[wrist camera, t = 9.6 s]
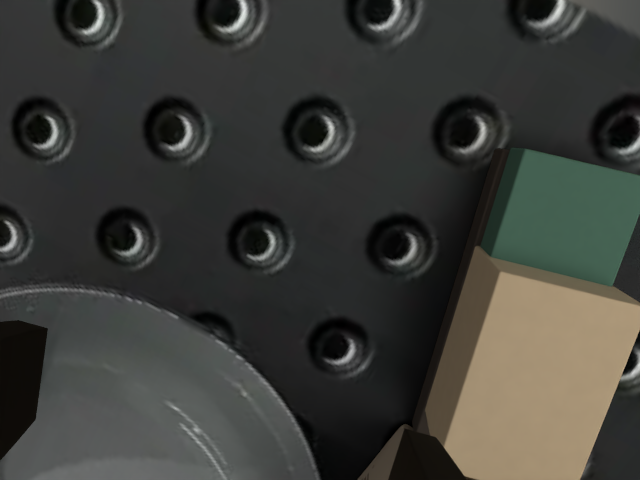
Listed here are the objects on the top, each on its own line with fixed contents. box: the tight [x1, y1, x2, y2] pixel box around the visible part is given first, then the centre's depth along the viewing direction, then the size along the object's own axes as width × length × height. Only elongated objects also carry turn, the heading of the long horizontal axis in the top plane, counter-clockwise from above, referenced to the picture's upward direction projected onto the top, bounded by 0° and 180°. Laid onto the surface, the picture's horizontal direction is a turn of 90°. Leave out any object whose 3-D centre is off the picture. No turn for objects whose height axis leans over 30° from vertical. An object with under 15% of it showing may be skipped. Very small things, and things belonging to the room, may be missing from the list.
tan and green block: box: [412, 148, 640, 480], centre depth 17 cm, size 11×4×5 cm, turn 167°
